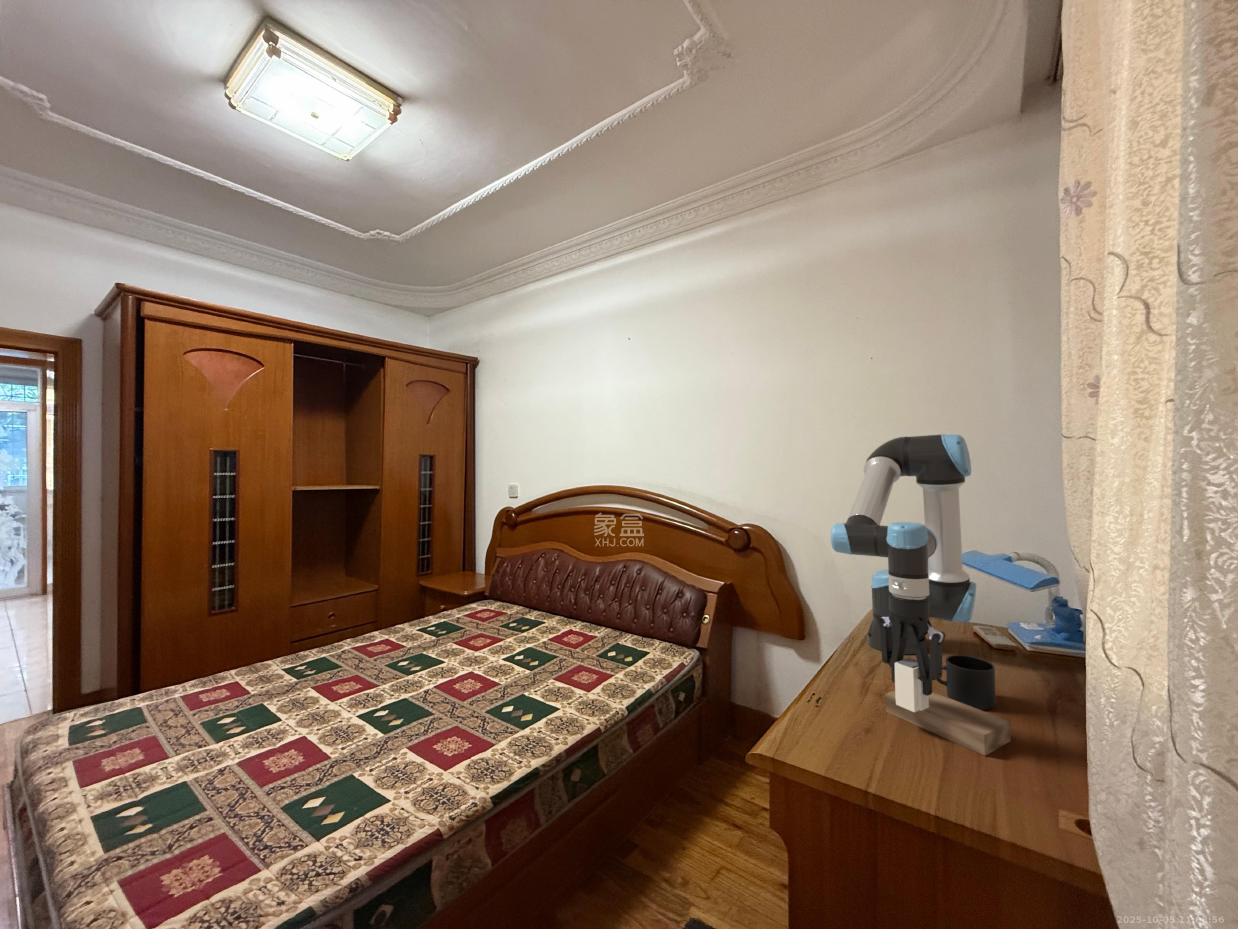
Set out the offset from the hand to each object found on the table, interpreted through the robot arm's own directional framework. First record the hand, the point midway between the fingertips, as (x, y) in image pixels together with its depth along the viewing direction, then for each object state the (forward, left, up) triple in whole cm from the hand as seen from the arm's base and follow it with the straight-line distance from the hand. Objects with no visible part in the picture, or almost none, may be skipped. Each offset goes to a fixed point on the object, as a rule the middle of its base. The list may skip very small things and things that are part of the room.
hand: (911, 703), depth 105 cm
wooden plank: (-6, +3, -5) cm, 9 cm away
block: (0, 0, 0) cm, 0 cm away
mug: (-22, -1, -5) cm, 23 cm away
